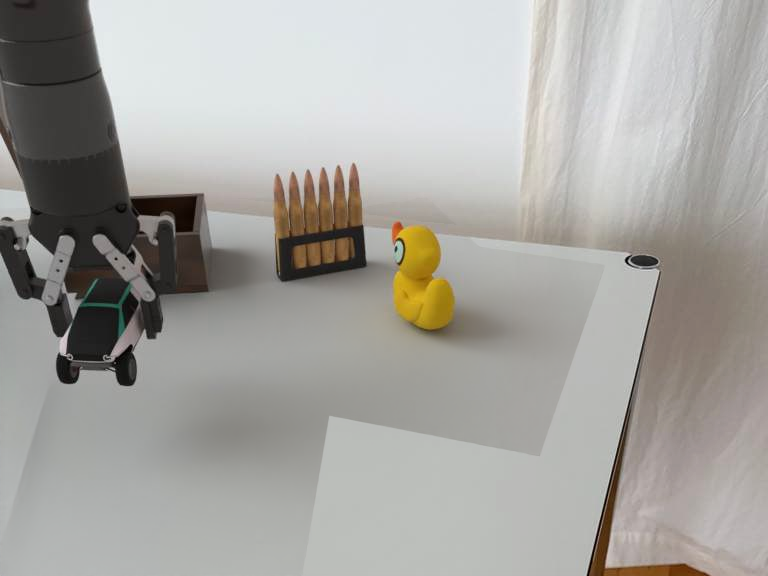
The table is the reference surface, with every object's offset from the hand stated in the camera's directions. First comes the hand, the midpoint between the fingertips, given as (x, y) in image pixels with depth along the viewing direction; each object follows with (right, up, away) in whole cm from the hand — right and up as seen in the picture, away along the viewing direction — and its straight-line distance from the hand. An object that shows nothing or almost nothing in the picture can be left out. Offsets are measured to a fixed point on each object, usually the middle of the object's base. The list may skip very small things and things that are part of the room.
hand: (111, 336), depth 78 cm
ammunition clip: (+16, +14, +29) cm, 36 cm away
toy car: (0, -1, +1) cm, 2 cm away
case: (-6, +14, +29) cm, 32 cm away
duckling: (+27, +6, +21) cm, 35 cm away
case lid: (-14, +25, +17) cm, 33 cm away
